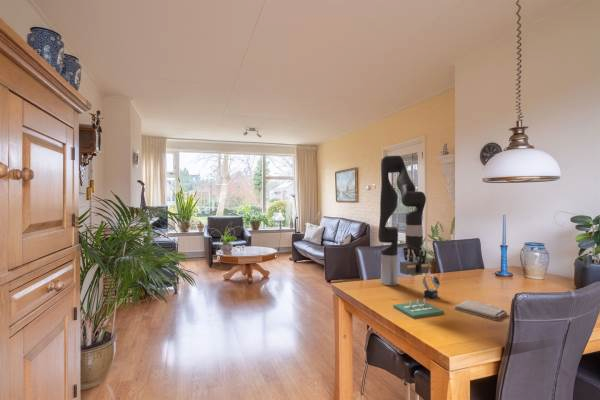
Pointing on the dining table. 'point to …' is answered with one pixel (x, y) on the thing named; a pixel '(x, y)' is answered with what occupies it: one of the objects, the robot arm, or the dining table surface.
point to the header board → (418, 309)
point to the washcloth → (481, 309)
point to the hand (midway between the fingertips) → (414, 271)
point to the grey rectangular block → (413, 267)
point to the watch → (430, 292)
